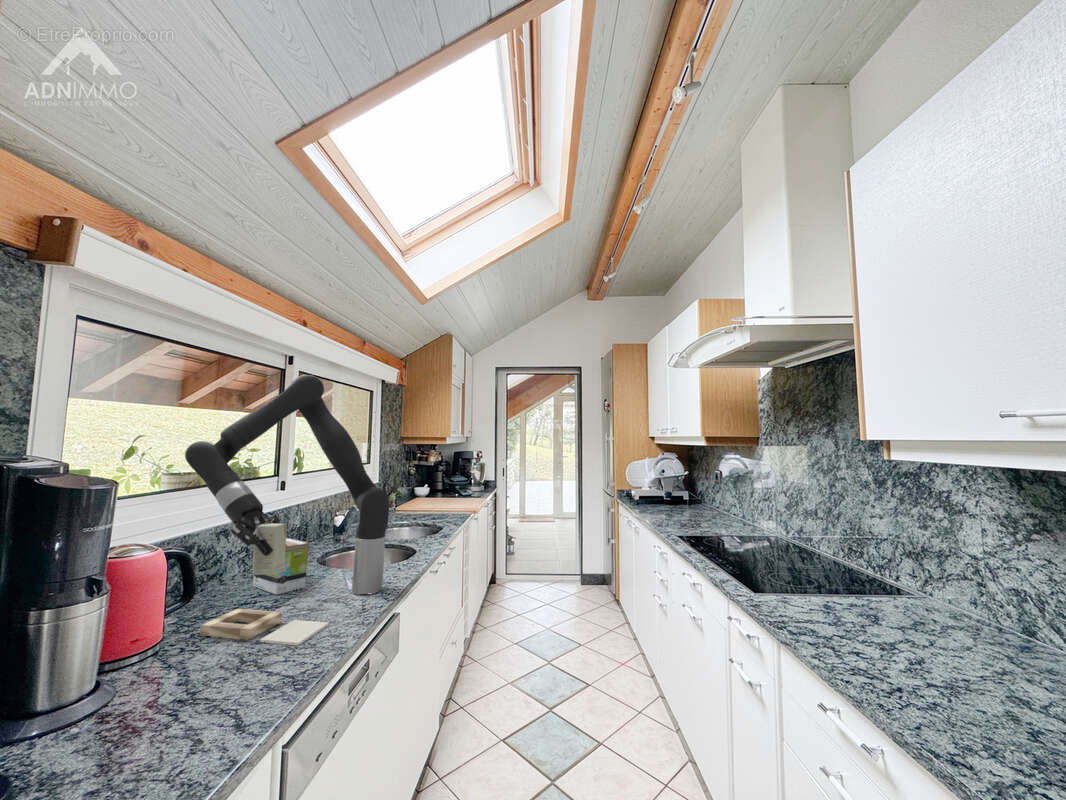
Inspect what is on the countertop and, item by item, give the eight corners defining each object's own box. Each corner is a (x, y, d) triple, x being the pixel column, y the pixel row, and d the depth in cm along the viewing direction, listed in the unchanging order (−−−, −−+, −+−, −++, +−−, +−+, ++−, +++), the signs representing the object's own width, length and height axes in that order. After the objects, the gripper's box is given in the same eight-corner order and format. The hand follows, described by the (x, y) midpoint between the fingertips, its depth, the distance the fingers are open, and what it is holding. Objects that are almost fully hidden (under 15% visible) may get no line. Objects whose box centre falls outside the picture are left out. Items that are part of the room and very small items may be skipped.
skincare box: (285, 570, 112) (288, 523, 113) (273, 575, 108) (277, 526, 109) (262, 569, 113) (266, 522, 114) (250, 574, 109) (254, 525, 110)
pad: (294, 622, 114) (294, 619, 114) (328, 625, 112) (328, 622, 112) (259, 642, 102) (260, 639, 102) (298, 645, 101) (298, 642, 101)
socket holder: (236, 618, 116) (237, 608, 116) (281, 621, 114) (282, 612, 114) (199, 635, 105) (200, 625, 105) (248, 640, 103) (249, 629, 103)
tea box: (306, 587, 142) (310, 541, 143) (275, 596, 133) (279, 547, 135) (282, 579, 150) (286, 536, 151) (251, 587, 141) (255, 541, 143)
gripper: (226, 495, 107) (266, 547, 104) (269, 489, 121) (305, 535, 118) (205, 516, 107) (244, 569, 104) (250, 508, 121) (286, 554, 118)
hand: (276, 551), depth 111 cm, fingers closed on skincare box, 4 cm apart
